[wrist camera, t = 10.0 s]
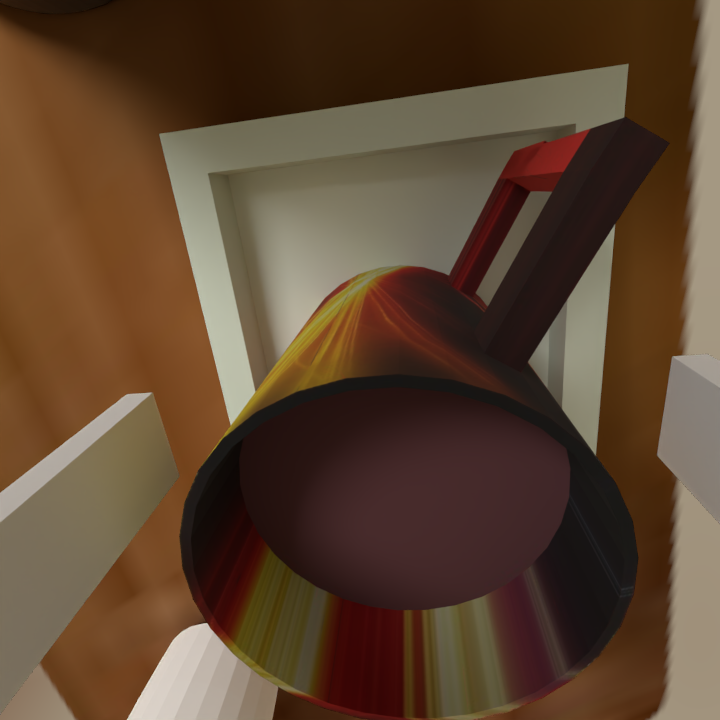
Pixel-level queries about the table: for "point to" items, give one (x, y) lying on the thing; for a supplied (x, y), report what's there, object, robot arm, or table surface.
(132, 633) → the table surface
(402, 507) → the mug
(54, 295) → the table surface
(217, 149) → the tray
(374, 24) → the table surface
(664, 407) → the robot arm
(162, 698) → the cup
